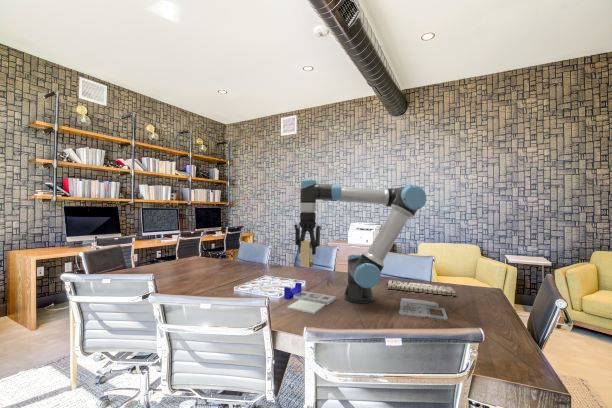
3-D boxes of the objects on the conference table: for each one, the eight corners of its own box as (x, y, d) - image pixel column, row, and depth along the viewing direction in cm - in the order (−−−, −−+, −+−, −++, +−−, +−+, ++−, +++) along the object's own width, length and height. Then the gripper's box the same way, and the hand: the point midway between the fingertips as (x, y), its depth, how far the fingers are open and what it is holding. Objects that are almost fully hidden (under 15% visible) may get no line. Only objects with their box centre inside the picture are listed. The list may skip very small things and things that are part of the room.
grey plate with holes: (335, 299, 147) (335, 296, 147) (328, 305, 138) (328, 301, 138) (301, 293, 156) (301, 290, 156) (292, 298, 148) (292, 295, 148)
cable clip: (294, 292, 158) (294, 281, 158) (301, 294, 156) (301, 283, 156) (281, 298, 148) (282, 286, 148) (288, 300, 146) (289, 288, 146)
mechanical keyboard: (451, 290, 171) (451, 284, 171) (458, 299, 153) (458, 293, 153) (386, 284, 182) (386, 278, 182) (385, 292, 164) (385, 286, 164)
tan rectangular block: (313, 266, 136) (313, 241, 136) (309, 267, 132) (309, 241, 132) (305, 265, 138) (305, 240, 139) (300, 266, 134) (301, 241, 135)
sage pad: (324, 305, 137) (324, 304, 137) (314, 314, 126) (314, 312, 126) (299, 301, 144) (299, 299, 144) (287, 308, 133) (287, 306, 133)
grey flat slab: (400, 295, 149) (442, 300, 142) (400, 300, 149) (442, 305, 142) (398, 309, 127) (448, 316, 121) (398, 315, 127) (448, 322, 120)
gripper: (327, 212, 135) (327, 261, 135) (295, 211, 143) (294, 257, 143) (321, 212, 128) (320, 264, 128) (288, 211, 136) (287, 260, 136)
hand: (307, 260), depth 135 cm, fingers closed on tan rectangular block, 4 cm apart
